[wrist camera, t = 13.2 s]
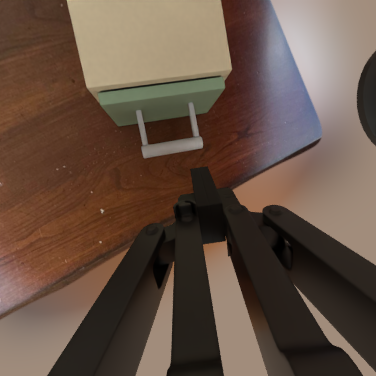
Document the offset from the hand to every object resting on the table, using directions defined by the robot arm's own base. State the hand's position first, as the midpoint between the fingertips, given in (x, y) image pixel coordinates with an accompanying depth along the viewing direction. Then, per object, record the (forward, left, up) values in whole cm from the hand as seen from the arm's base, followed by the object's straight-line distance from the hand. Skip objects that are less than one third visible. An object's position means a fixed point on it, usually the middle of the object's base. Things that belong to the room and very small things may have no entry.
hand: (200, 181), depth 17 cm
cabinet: (+1, -18, -12) cm, 22 cm away
